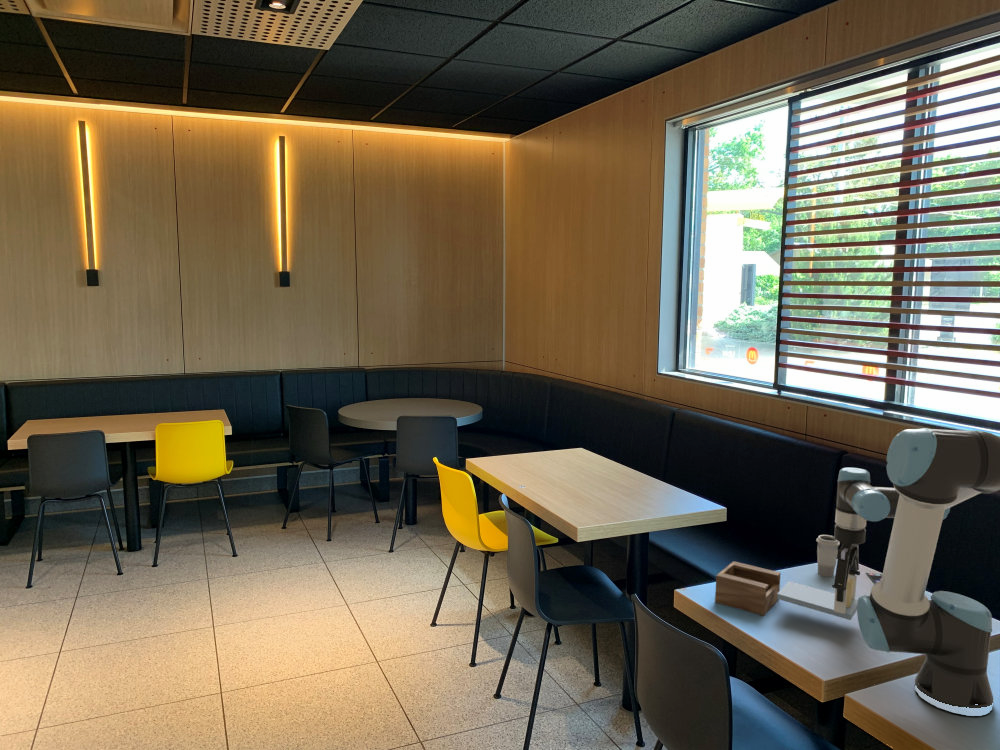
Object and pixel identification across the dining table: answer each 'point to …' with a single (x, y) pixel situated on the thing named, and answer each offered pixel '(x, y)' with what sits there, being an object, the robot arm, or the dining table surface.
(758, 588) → the case
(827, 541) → the cup
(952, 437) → the robot arm
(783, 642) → the dining table surface
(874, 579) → the smartphone
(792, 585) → the lid
